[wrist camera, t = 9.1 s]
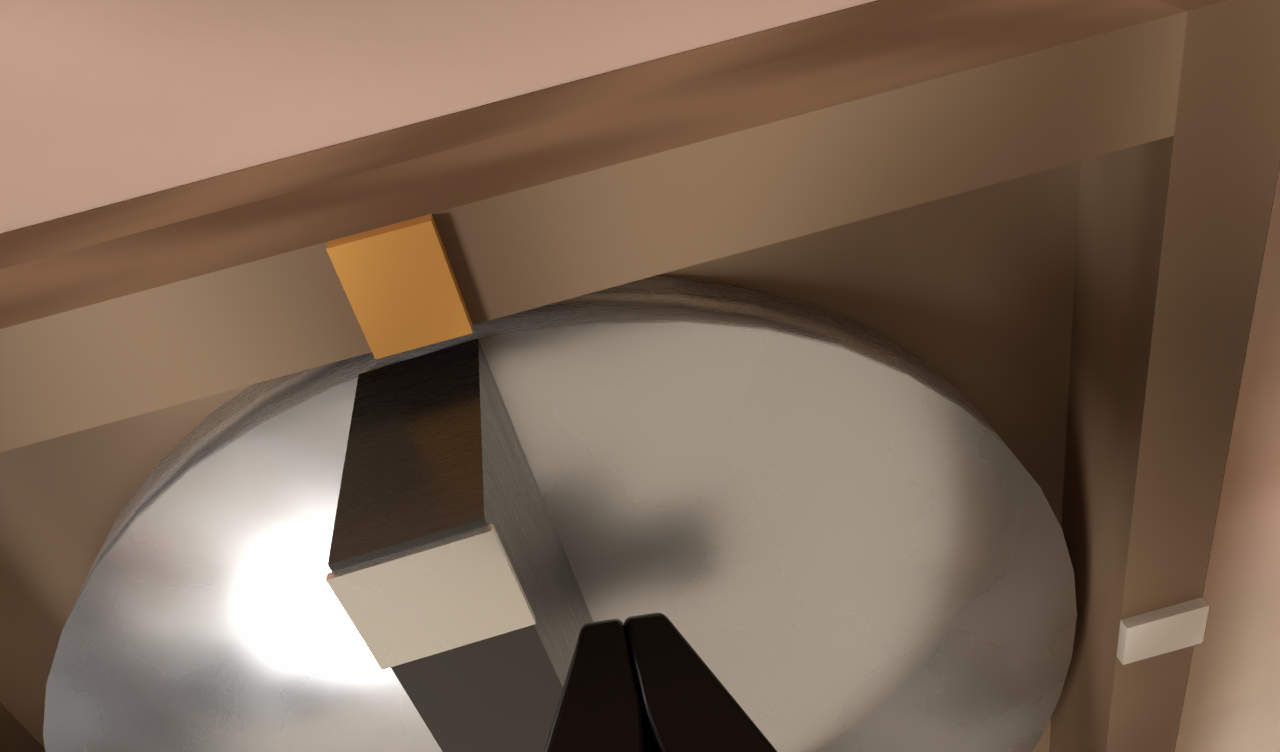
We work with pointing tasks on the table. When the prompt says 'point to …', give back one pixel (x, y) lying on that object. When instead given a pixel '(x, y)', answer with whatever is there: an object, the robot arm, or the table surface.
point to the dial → (579, 543)
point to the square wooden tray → (729, 278)
